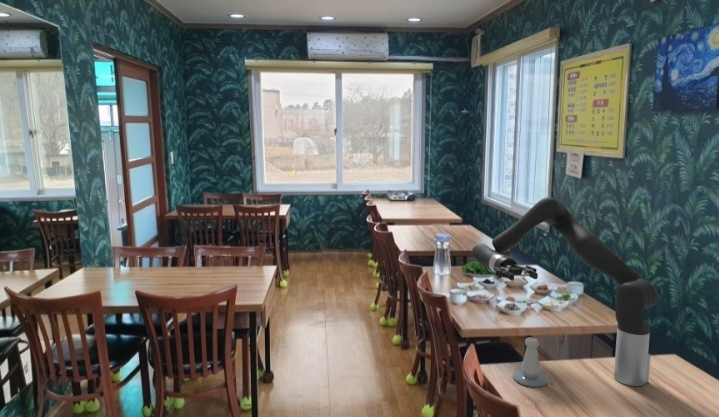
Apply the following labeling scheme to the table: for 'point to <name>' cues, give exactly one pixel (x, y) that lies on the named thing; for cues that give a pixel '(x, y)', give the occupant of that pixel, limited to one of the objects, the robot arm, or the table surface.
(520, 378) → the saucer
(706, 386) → the table surface
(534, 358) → the salt shaker
